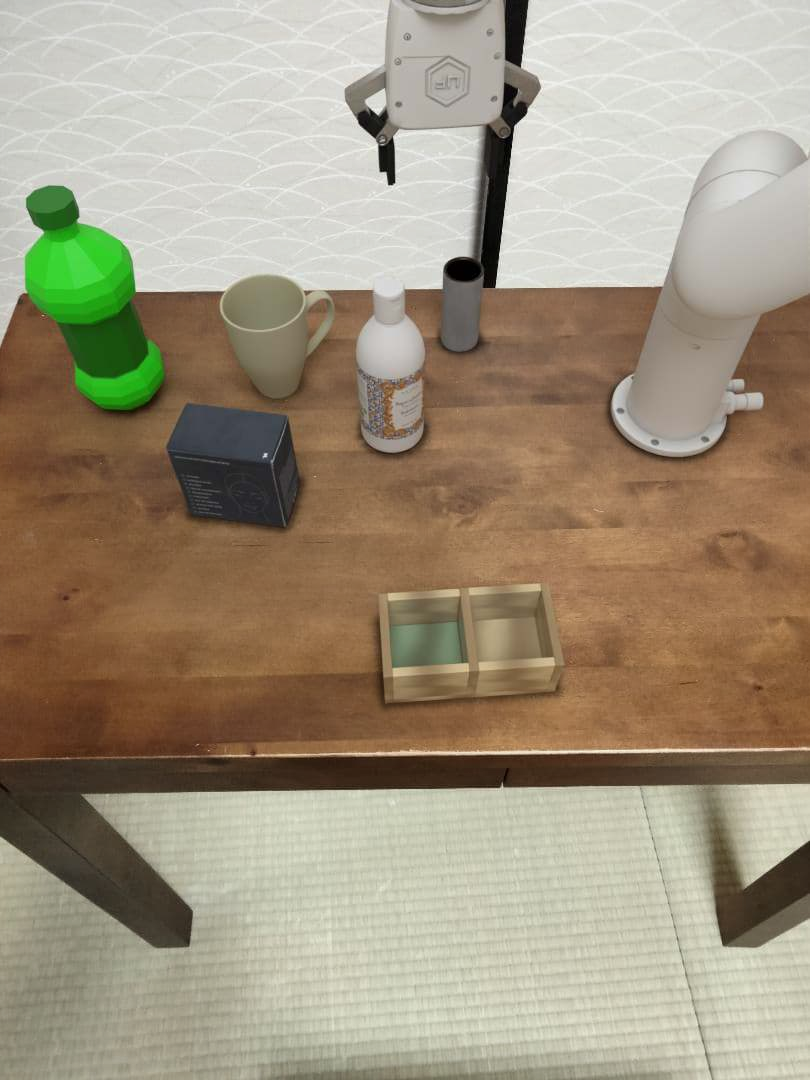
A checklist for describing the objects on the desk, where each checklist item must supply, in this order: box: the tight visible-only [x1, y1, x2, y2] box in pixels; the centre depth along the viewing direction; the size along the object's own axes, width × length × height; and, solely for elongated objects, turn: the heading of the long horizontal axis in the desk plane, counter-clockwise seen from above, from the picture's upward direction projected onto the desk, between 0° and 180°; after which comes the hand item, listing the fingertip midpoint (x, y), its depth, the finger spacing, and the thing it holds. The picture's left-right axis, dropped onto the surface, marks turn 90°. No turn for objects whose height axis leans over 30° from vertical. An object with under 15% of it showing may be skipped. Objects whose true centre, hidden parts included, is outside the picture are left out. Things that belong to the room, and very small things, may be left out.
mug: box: [219, 273, 336, 400], centre depth 90 cm, size 11×10×12 cm
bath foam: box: [355, 275, 426, 454], centre depth 83 cm, size 7×7×20 cm
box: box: [165, 402, 301, 528], centre depth 82 cm, size 11×7×10 cm, turn 80°
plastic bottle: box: [24, 185, 165, 411], centre depth 84 cm, size 10×10×25 cm
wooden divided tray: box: [377, 582, 565, 704], centre depth 73 cm, size 15×8×6 cm, turn 94°
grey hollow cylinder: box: [440, 256, 485, 353], centre depth 95 cm, size 4×4×10 cm
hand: (440, 174), depth 78 cm, fingers open, 9 cm apart
